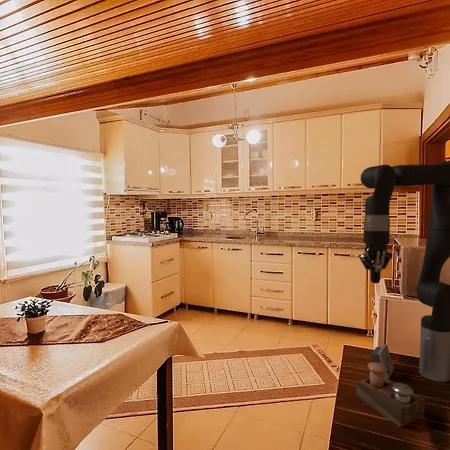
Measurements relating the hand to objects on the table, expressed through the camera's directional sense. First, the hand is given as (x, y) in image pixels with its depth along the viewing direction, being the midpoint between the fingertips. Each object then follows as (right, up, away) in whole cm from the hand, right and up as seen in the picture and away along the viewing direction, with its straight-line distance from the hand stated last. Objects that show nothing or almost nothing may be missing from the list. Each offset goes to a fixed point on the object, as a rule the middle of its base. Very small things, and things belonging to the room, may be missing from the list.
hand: (375, 282), depth 104 cm
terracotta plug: (-1, -33, -4) cm, 33 cm away
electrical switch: (+8, -35, +12) cm, 37 cm away
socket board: (0, -36, -8) cm, 36 cm away
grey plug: (+2, -35, -11) cm, 37 cm away
